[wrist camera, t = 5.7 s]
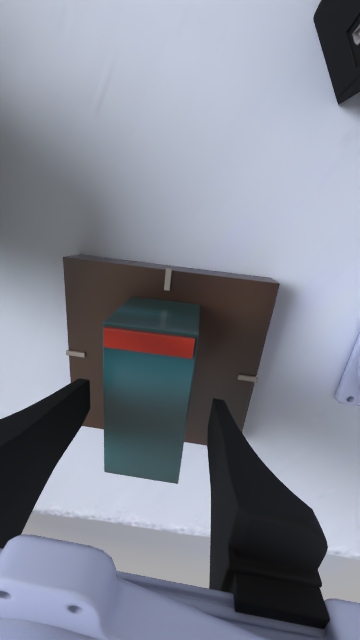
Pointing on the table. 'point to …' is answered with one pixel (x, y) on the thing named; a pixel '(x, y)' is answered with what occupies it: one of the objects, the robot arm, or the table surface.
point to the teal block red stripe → (148, 386)
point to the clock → (214, 328)
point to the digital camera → (340, 44)
